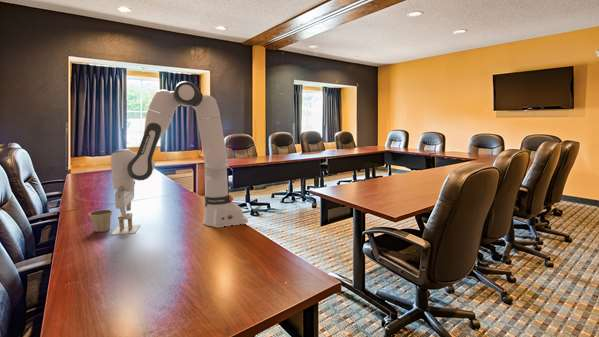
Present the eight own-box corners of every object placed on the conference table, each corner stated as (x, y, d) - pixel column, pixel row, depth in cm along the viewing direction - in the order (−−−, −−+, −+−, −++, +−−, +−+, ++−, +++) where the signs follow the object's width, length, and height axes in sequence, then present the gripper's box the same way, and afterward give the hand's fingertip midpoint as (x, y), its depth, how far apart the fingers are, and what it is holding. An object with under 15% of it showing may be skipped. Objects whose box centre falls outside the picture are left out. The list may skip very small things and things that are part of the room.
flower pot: (103, 234, 150) (101, 215, 148) (85, 232, 151) (83, 214, 150) (118, 227, 159) (116, 210, 157) (101, 226, 160) (100, 209, 159)
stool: (133, 227, 158) (132, 213, 157) (130, 230, 153) (129, 216, 152) (121, 228, 157) (120, 213, 156) (119, 231, 152) (117, 216, 151)
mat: (140, 225, 162) (140, 224, 162) (135, 233, 151) (135, 232, 151) (117, 227, 159) (117, 226, 159) (110, 235, 148) (110, 234, 148)
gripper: (125, 188, 143) (128, 218, 145) (135, 180, 162) (138, 207, 164) (109, 189, 141) (112, 220, 143) (121, 180, 161) (124, 208, 163)
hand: (126, 213), depth 154 cm, fingers open, 8 cm apart
